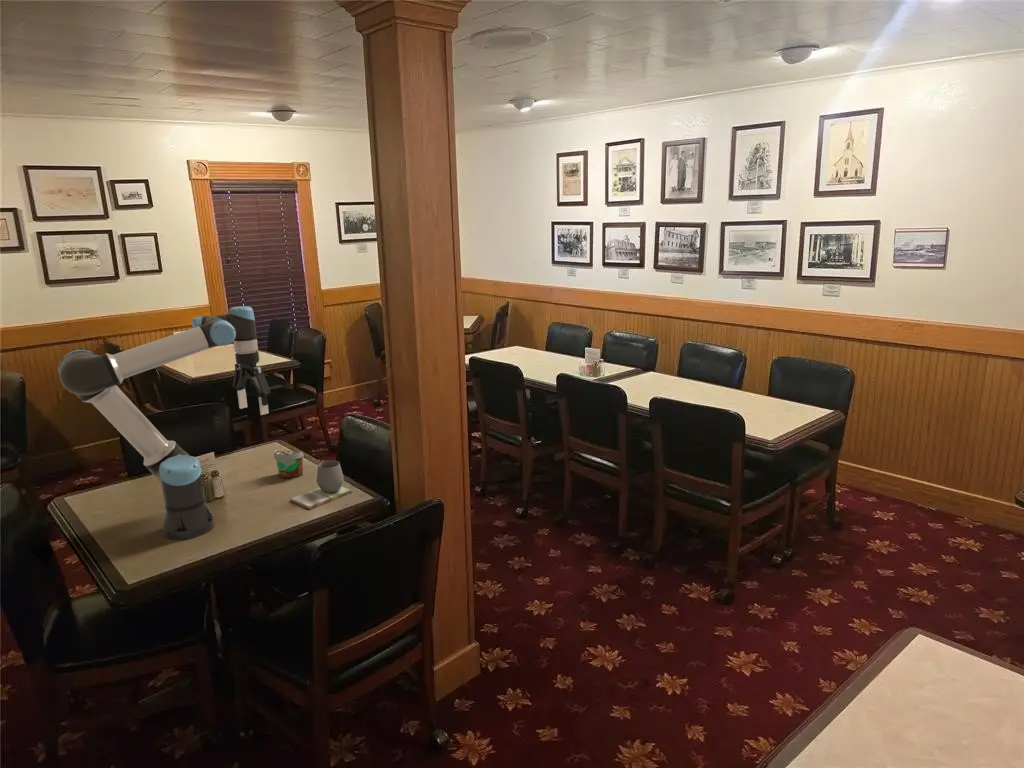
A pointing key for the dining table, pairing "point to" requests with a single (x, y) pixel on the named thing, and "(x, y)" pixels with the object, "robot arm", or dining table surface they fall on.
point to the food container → (289, 464)
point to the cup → (330, 476)
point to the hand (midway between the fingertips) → (253, 411)
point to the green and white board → (318, 497)
